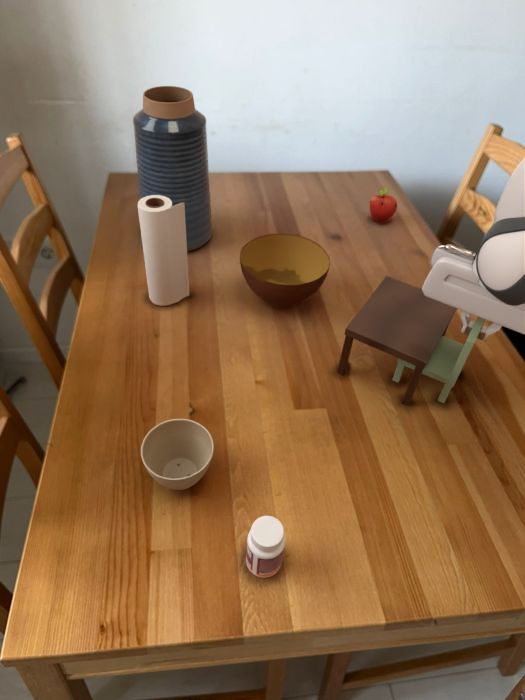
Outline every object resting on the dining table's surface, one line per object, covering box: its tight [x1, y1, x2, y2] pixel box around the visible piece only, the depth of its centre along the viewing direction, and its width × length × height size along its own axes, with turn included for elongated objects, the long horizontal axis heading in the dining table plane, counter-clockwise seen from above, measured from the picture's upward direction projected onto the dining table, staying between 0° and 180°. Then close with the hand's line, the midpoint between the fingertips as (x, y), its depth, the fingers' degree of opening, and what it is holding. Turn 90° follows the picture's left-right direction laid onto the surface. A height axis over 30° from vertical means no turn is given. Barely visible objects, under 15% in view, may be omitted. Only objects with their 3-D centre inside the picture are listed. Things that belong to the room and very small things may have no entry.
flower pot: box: [140, 418, 215, 491], centre depth 73 cm, size 10×10×7 cm
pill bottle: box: [245, 515, 286, 579], centre depth 65 cm, size 5×5×8 cm
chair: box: [391, 316, 487, 404], centre depth 88 cm, size 10×10×15 cm
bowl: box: [239, 232, 331, 308], centre depth 104 cm, size 18×18×10 cm
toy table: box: [336, 275, 458, 407], centre depth 92 cm, size 14×18×11 cm
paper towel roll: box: [137, 195, 190, 307], centre depth 97 cm, size 7×6×21 cm
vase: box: [132, 85, 213, 252], centre depth 111 cm, size 16×16×32 cm
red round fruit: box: [369, 188, 398, 224], centre depth 128 cm, size 8×7×10 cm
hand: (474, 334), depth 83 cm, fingers closed on chair
